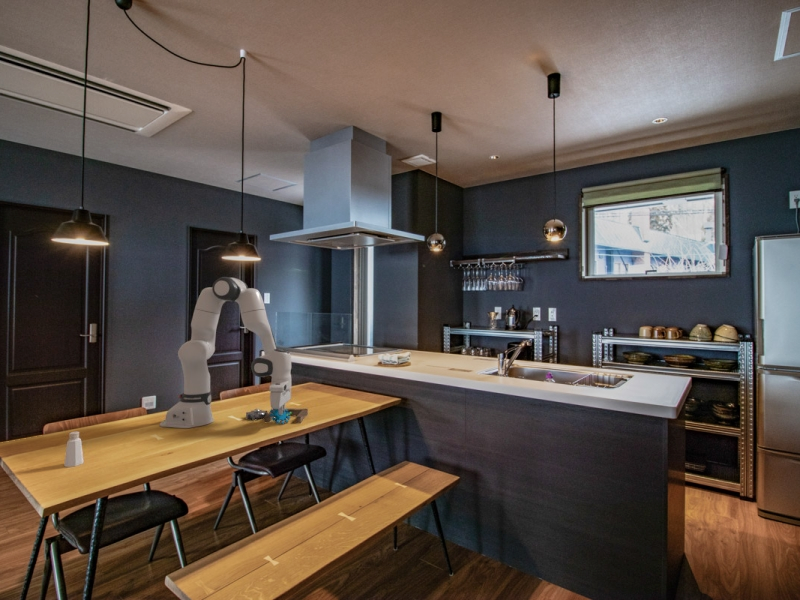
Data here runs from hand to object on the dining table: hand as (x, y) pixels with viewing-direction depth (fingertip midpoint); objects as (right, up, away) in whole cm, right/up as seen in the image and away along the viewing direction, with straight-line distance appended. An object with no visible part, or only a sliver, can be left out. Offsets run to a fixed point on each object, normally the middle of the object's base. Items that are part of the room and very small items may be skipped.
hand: (281, 414), depth 195 cm
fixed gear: (-15, -5, +11) cm, 19 cm away
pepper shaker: (-58, -4, -49) cm, 76 cm away
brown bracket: (0, -5, +9) cm, 10 cm away
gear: (-1, -5, +3) cm, 6 cm away
